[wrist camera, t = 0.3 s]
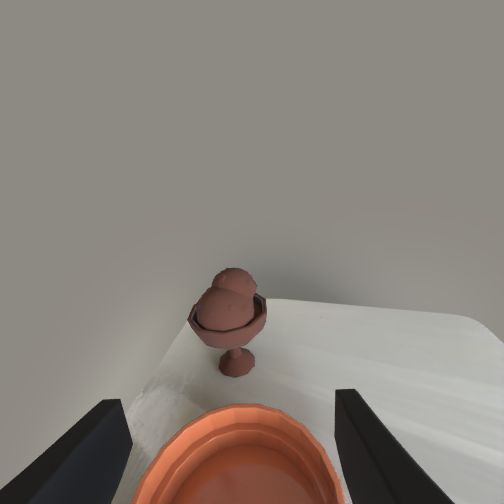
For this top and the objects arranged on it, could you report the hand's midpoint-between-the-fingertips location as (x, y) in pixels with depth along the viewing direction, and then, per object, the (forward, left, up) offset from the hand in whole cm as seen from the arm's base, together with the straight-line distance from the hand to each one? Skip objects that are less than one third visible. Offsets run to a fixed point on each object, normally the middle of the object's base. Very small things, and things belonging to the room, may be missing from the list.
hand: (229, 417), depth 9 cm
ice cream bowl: (+24, +6, -21) cm, 32 cm away
